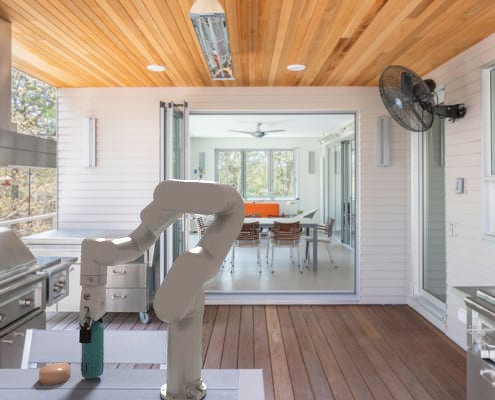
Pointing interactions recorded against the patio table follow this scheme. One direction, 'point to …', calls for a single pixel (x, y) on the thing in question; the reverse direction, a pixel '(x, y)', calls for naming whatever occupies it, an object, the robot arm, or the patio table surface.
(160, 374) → the patio table surface
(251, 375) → the patio table surface
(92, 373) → the beverage bottle
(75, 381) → the patio table surface
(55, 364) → the tan rounded flat piece
